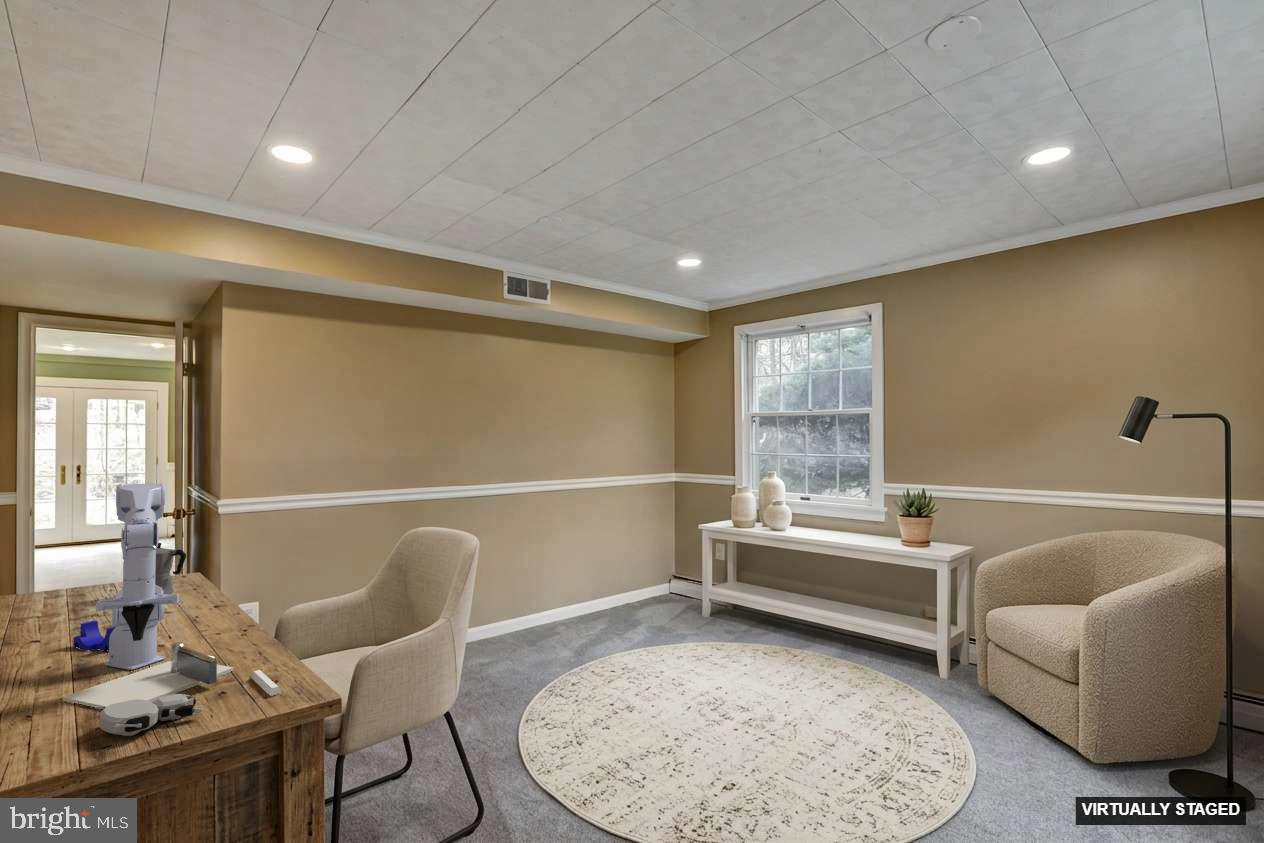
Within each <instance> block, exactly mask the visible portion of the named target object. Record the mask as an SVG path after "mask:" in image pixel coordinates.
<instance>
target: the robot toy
mask: <svg viewBox="0 0 1264 843" xmlns="http://www.w3.org/2000/svg"><path fill="white" fill-rule="evenodd" d="M196 703H197V700H196V698H195V697H193V696H192V695H189V694H183V693H179V692H178V693H175V694H173V695H169V696H165V697H161V698H158V699H157V700H156V701H155V702H150V701H147V700H136V699H134V700H129V701H124V702H119V703H115V704H111V705H109V706H107V707H101V706H97V707H95V708H94V709H98V710H101V708H104V709H103V710H101V711H100V713H99V722H98V724H99V725H98V726H99V729H101V730H102V731H104V732H106V733H108V734H112V735H119V736H120V735H121V736H122V737H126V736H130V737H132V736H131V735H134V736H135V734H136V735H138V734H140V732H141V731H145V730H148V729H150V728H151V727H153V726H154V725H155V724H156V723H157V722H158V720H159V721H160V722H164V721H170V720H171V721H176V720H175V719H177V720H180V719H181V718H183V717H192V716H193V715H194V713H195V714H197V713H198V714H199V713H202V712H203V711H204V706H202V705H200V706H196V707H195V705H196ZM179 718H180V719H179ZM137 733H138V734H137Z"/></svg>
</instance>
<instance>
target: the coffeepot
mask: <svg viewBox="0 0 1264 843" xmlns="http://www.w3.org/2000/svg"><path fill="white" fill-rule="evenodd" d="M155 549H156V567H155V585H157V586H159V587H161V588H162V590H163V594H172V593H173V592H174V593H175V590H174V585H173V580H172V576H171V571H172V569H173V568H172V567H173V562H174V559H175V558H174V557H175V556H180V557H179V559H178V564H177V566H176V570H175V571H172V574H173V575H179V574H181V571H182V569H183V566H184V563H185V561H186V558H187V554H186V553H185V551H184V550H183V549H172V548H171V549H170V548H163V547H162V542H158V546H157V548H156V547H155Z"/></svg>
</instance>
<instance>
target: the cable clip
mask: <svg viewBox="0 0 1264 843" xmlns="http://www.w3.org/2000/svg"><path fill="white" fill-rule="evenodd" d="M118 626H119V624H118ZM115 628H116V627H114V626H111V627H107V628H106V632H105V635H104V637H103V635H102V634H101V632H100V629H99V624H98V620H90V621H86V622H81V623H80V635H75V636H73V641H72V642H73V644H72V646H73V647H75V648H76V647H78V648H80V649H84V650H83V651H85V650H90V651H93V650H92V649H94V650H96V649H100V650H99V651H101V650H104V651H103V652H106V651H107V650H108V651H109V638H110V635H111V633H112V631H113V630H114V629H115ZM75 648H74V649H75ZM80 649H79V650H80Z"/></svg>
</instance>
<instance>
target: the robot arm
mask: <svg viewBox="0 0 1264 843" xmlns="http://www.w3.org/2000/svg"><path fill="white" fill-rule="evenodd" d="M115 488H116V489H115V490H116V491H115V507H116V517H117V520H118V521H121V522H122V523H124V527H122V528H121V536H120V537H121V539H120V544H121V545H120V547H121V550H122V551H121V553H122V560H123V562H122V565H123V566H122V588H121V589H119V590H118V591H117V592H115V595H114V596H113V598H109V599H101V600H98V601H97V602H96V604H95V612H102V611H106V610H112V611H111V612H112V613H111V621H112V622H111V625H112V627H116V628H115V629H114V630H113V631H112V633H111V635H110V638H109V652H108V661H106V662H105V663H104V666H107V667H112V668H119V669H123V670H130V671H132V670H137V669H139V668H142V667H145V666H148V665H151V664H154V663H157V662H160V661H163V660H165V659H166V656H163V655H157V654H158V653H157V652H158V651H157V650H158V648H157V647H158V646H157V644H158V643H157V641H158V625H159V623H158V622H162V621H163V619H164V617H165V605H169V604H171V605H178V604H179V602H180V593H174V594H163V590H162V588H161V587H159V586H157V585H155V567H156V548H157V546H158V543H159V535H160V534H159V530H160V529H159V528H160V527H159V525H158V520H159V519H161V518H163V514H164V513H165V505H166V484H165V483H164V482H160V483H159V482H157V483H155V482H154V483H127V484H126V483H125V484H122V483H119V484H118V485H117V486H116V487H115ZM118 625H119V626H118Z"/></svg>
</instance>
